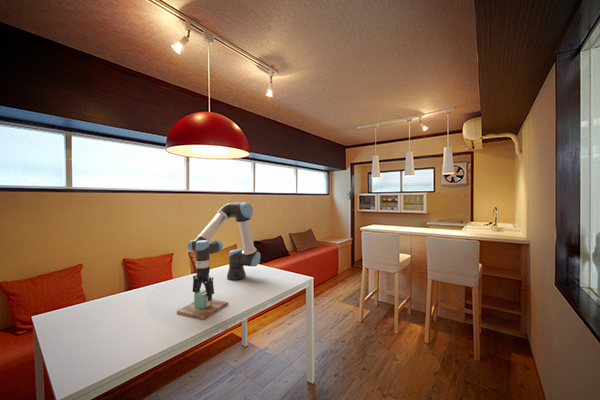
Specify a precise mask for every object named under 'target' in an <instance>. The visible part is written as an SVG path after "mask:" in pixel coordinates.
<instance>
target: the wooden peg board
mask: <svg viewBox="0 0 600 400" xmlns="http://www.w3.org/2000/svg"><path fill="white" fill-rule="evenodd" d="M228 305H229V302H228V301H224V300H219V299H215V298H212V304H211V305H210V306H208V307H206V308H204V309H201V308H197V307H194V301H193V302H191V303H189V304H187V305H185V306H183V307H182V308H179V309H178V310H176V314H179V315H182V316H186V317H191V318H195V319H199V320H206V319H207V318H209V317H211V316H212V315H214V314H216V313H218V312H219V311H221V310H222V309H223V308H225V307H226V306H228Z"/></svg>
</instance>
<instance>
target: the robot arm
mask: <svg viewBox="0 0 600 400" xmlns="http://www.w3.org/2000/svg"><path fill="white" fill-rule="evenodd" d="M253 215H254V209H253V206H252V205H251V203H249V202H244V201H243V202H241V201H240V202H234V201H233V202H228V203H226V204H224V205H222V207H220V208H219V209H218V210H217V211H216V213H215V215H214V217H213V218H212V219H211V221H210V222H209V223H208V224H207V226H205V227H204V229H203V230H202V231H201V232H200V234H198V236H197V237H196V238H195V239H192V240H189V241H188V243H187V247H186V248H187V249H188V251H189V252H192V253H195V274H196V275H195V274H194V275H193V276H192V279H193V281H192V293H196V292H198V291H200V290H201V288H202V285H203V286H204V289H205V290H206V293H207V296H206V307H208V306H210V305H211V295H212V296H213V295H214V294H215V289H214V287H215V286H214V277H211V276H210V272H211V271H210V269H211V268H210V255H213V254H217V253H219V252H221V251H222V250H223V247H224V243H223V242H222V241H221V240H219V239H218V240H217V239H216V240H211V239H212V238H213V237H214V236H215V234H216V232H217V231H218V230H219V229H220V228H221V226H222V225H223V224H224V223H225V222H226V221H228V219H231V218H235V222H236V223H238V228H239V232H240V239H241V244H242V248H235V249H231V250H229V253H228V272H227V274H226V279H227V280H230V281H239V280H244V279H245V278H246V276H247V275H246V272H245V268H244V267H245V266H246V267H257V266H258V265H259V264H260V262H261V253H260V252H259V251H258V250H257V248H256V247H255V245H254V239H253V232H252V227H251V222H250V221H251V219H252V217H253Z"/></svg>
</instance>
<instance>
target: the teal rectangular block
mask: <svg viewBox="0 0 600 400" xmlns="http://www.w3.org/2000/svg"><path fill="white" fill-rule="evenodd" d="M193 293H194V294H193V298H194V300H193V302H194V307H197V308H201V309H204V308H206V296H207V293H206V289H205V288H202V289H200V291H198V292H196V293H195V292H193ZM212 299H213V294H212V295H211V304H212Z"/></svg>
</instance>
